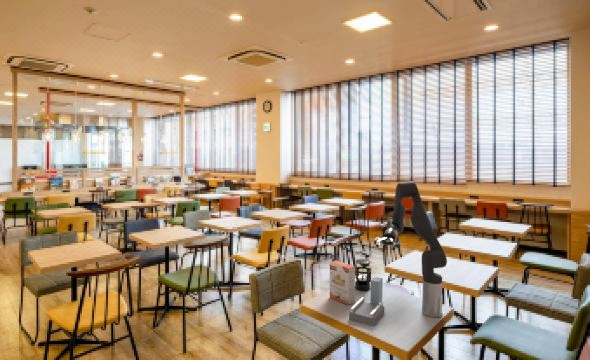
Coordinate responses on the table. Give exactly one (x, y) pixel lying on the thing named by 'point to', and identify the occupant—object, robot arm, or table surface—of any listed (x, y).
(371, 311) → the stand
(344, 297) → the cracker box
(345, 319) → the table surface
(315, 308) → the table surface
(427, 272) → the robot arm
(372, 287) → the light blue rectangular block
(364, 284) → the french press
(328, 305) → the table surface
